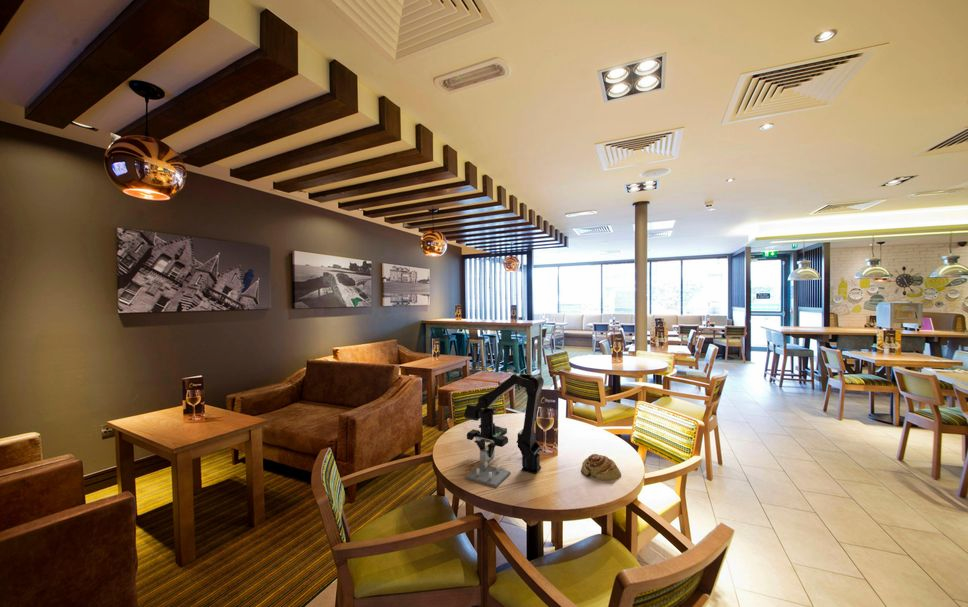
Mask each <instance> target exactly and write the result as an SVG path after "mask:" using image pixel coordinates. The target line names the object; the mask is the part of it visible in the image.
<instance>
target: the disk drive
mask: <svg viewBox="0 0 968 607" xmlns="http://www.w3.org/2000/svg"><path fill="white" fill-rule="evenodd" d="M499 427H500V426H499ZM507 433H508V428H506V427H500V429H499V434H498V433H496V435H493V437H498V436H499V435H504V436H506V434H507ZM480 434H481V432H480ZM487 441H488V442H491V441H490V440H487ZM487 441H486V442H487Z"/></svg>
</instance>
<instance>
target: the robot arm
mask: <svg viewBox="0 0 968 607" xmlns="http://www.w3.org/2000/svg"><path fill="white" fill-rule="evenodd" d="M544 383H545V382H544V378H543V376H541V375H539V374H525V373H520V372H515V373H514V374H511V376H510V377H509V378H507V379H506V380H505V381H503V382H502V383H501V384H499V385H498V386H496V388H494V389H493V390H490V391H488V392H487V393H484V394H483V395H481V396H479V397H478V400H477V403H476V404H472V403H468V404H467V405H466V407H465V410H464V412H463V415H464V419H465V420H471V421H475V422H478V421H479V420H480V424H479V425H478V428H480V430H479V429H471V430H470V431H468V432H467V434H466V439H467V440H470V441H473V440H474V439H475V440H474V443H475V444H476V445H477V447H478V449H479V451H480V450H481V449H483V448H484V447H485V446H486V442H487V441H486V440H490V441H489V442H490V443H488V444H487V445H488V449H489V457H490V458H491V457H492V454H493V451H494V452H495V448H496V447H499V448H501V447H503V448H504V447H505V446H506V445H507V444H508V443H509V438H508V436H506V435H504V436H503V435H499V436H498V437H493V435H496V433H498V434H499V429H500V426H498V425H495V422H494V415H495V414H497V413H498V409H496V408H495V407H494V406H493V405H494V404H495V403H496V402H497V401H498V400H499V398H500V397H501V396H502V395H503V394H505V393H506V392H507V391H509V390H510V389H511V388H513V387H514V386H515V385H518V386H520V387H522V388H525V393H526V396H527V397H526V398H527V399H526V404H525V405H526V406H525V414H524V420H523V428H522V429H521V430H520V431H518V433H517V440H516V443H517V448H518V449H519V451H520V453H521V465H522V468H521V471H524V472H528V473H531V474H537V473H538V472H540V470H541V469H542V465H540V464H541V461H540V460H541V458H540V454H539V452H541V448H542V447H541V445H540V444H539V443H538V442H537V438H536V432H535V424H536V417H537V415H536V414H537V408H538V402H539V401H538V400H539V397H540V394H541V392H542V389H543V386H544ZM534 389H535V390H534ZM491 406H492V407H491ZM490 407H491V408H490ZM480 433H481V434H480Z"/></svg>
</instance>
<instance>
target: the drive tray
mask: <svg viewBox="0 0 968 607" xmlns="http://www.w3.org/2000/svg"><path fill="white" fill-rule="evenodd" d="M510 475H511V471H510V470H506V469H503V468H501V467H500V465H499V464H498V465H496V467H495V466H491V465H488V462H485V463H480V464H479V465H477V466H476V467H475V468H474V469H472V470H471V471H470V472H469V473H468V474H466V475H465V479H466V480H470V481H472V482H477V483H480V484H482V485H487V486H489V487H492V488H493V487H494V488H497V487H499V486H500V484H502V483H503V481H505V480H506V479H507V478H508V477H509V476H510Z"/></svg>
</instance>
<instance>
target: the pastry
mask: <svg viewBox="0 0 968 607" xmlns="http://www.w3.org/2000/svg"><path fill="white" fill-rule="evenodd" d="M581 465H582V466H581V469H580V472H581V473H582V474H583V476H585V477H591V476H592V477H591V478H593V477H594V479H596V478H597V479H596V480H599V479H600V480H599V481H614V480H613V479H615V480H617V479H619V477H620V478H621V477H622V473H621V470H620V468H619V467H618V466H617V464H616V462H615V461H614V460H613V459H611V458H609V457H608V456H606V455H601V454H597V453H593V454H591V455H589V456H587V458H585V459H584V460H583V462H582V464H581Z"/></svg>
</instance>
